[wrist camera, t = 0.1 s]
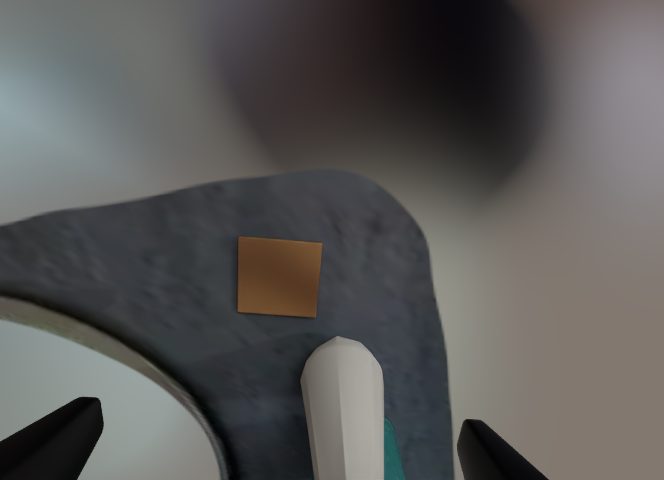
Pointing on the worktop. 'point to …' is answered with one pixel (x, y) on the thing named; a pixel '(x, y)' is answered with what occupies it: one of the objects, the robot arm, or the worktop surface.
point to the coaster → (278, 276)
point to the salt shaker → (344, 411)
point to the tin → (389, 455)
